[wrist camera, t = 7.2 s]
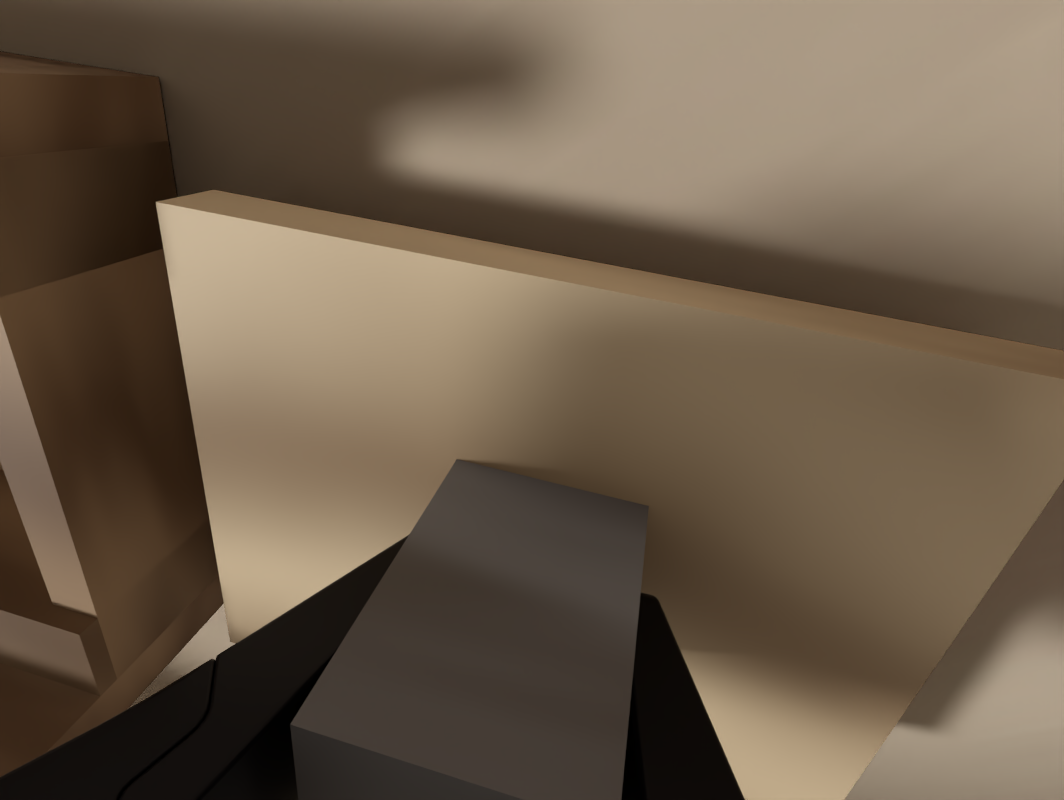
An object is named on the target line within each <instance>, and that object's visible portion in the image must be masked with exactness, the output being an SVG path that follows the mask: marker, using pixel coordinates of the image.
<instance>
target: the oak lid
mask: <svg viewBox="0 0 1064 800" xmlns="http://www.w3.org/2000/svg"><path fill="white" fill-rule="evenodd" d="M156 208H157V214H158V219H159V225H160V231H161V237H162V243H163V249H164V255H165V261H166V266H167V272H168V278H169V284H170V290H171V296H172V302H173V308H174V314H175V319H176V325H177V331H178V337H179V343H180V349H181V355H182V361H183V366H184V372H185V378H186V384H187V390H188V396H189V402H190V408H191V413H192V419H193V425H194V431H195V437H196V443H197V449H198V455H199V461H200V466H201V472H202V478H203V484H204V490H205V496H206V502H207V508H208V513H209V519H210V525H211V531H212V537H213V543H214V549H215V555H216V561H217V566H218V572H219V578H220V584H221V590H222V596H223V602H224V608H225V613H226V619H227V625H228V631H229V637H230V642H233V643H238V642H239V641H241V640H242V639H244V638H246V637H247V636H249V635H250V634H252V633H254V632H255V631H257V630H258V629H260V628H261V627H263V626H265V625H266V624H268V623H269V622H271V621H273V620H274V619H276V618H277V617H279V616H281V615H282V614H284V613H285V612H287V611H288V610H290V609H292V608H293V607H295V606H296V605H298V604H300V603H301V602H303V601H304V600H306V599H307V598H309V597H311V596H312V595H314V594H315V593H317V592H319V591H320V590H322V589H323V588H325V587H326V586H328V585H330V584H331V583H333V582H334V581H336V580H338V579H339V578H341V577H342V576H344V575H346V574H347V573H349V572H350V571H352V570H353V569H355V568H357V567H358V566H360V565H361V564H363V563H365V562H366V561H368V560H369V559H371V558H372V557H374V556H376V555H377V554H379V553H380V552H382V551H384V550H385V549H387V548H388V547H390V546H392V545H393V544H395V543H396V542H398V541H399V540H401V539H403V538H404V537H406V536H407V535H409V536H408V538H407V539H406V541H405V542H404V544H403V546H402V547H401V549H400V550H399V552H398V553H397V555H396V557H395V558H394V560H393V561H392V563H391V565H390V566H389V568H388V569H387V571H386V573H385V574H384V576H383V577H382V579H381V581H380V582H379V584H378V585H377V587H376V588H375V590H374V592H373V593H372V595H371V596H370V598H369V600H368V601H367V603H366V604H365V606H364V608H363V609H362V611H361V612H360V614H359V616H358V617H357V619H356V620H355V622H354V624H353V625H352V627H351V628H350V630H349V631H348V633H347V635H346V636H345V638H344V639H343V641H342V643H341V644H340V646H339V647H338V649H337V651H336V652H335V654H334V655H333V657H332V659H331V660H330V662H329V663H328V665H327V667H326V668H325V670H324V671H323V673H322V674H321V676H320V678H319V679H318V681H317V682H316V684H315V686H314V687H313V689H312V690H311V692H310V694H309V695H308V697H307V698H306V700H305V702H304V703H303V705H302V706H301V708H300V710H299V711H298V713H297V714H296V716H295V717H294V719H293V721H292V722H291V724H290V728H291V737H292V746H293V755H294V765H295V774H296V783H297V792H298V800H621V797H622V786H623V775H624V765H625V754H626V744H627V733H628V722H629V712H630V701H631V690H632V680H633V669H634V659H635V648H636V637H637V627H638V616H639V605H640V595H641V592H642V593H646V594H650V595H653V596H655V597H656V598H657V599H658V600H659V602H660V604H661V607H662V609H663V611H664V614H665V616H666V618H667V621H668V623H669V625H670V627H671V630H672V632H673V634H674V637H675V639H676V641H677V644H678V646H679V648H680V651H681V653H682V655H683V658H684V660H685V662H686V664H687V667H688V669H689V671H690V674H691V676H692V678H693V681H694V683H695V685H696V688H697V690H698V692H699V695H700V697H701V699H702V702H703V704H704V706H705V708H706V711H707V713H708V715H709V718H710V720H711V722H712V725H713V727H714V729H715V732H716V734H717V736H718V739H719V741H720V743H721V745H722V748H723V750H724V752H725V755H726V757H727V759H728V762H729V764H730V766H731V769H732V771H733V773H734V776H735V778H736V780H737V782H738V785H739V787H740V789H741V792H742V794H743V796H744V799H747V800H844V799H845V798H846V796H847V795H848V794H849V792H850V791H851V789H852V788H853V786H854V785H855V783H856V782H857V780H858V779H859V778H860V776H861V775H862V773H863V772H864V770H865V769H866V767H867V766H868V764H869V763H870V761H871V760H872V759H873V757H874V756H875V754H876V753H877V751H878V750H879V748H880V747H881V745H882V744H883V743H884V741H885V740H886V738H887V737H888V735H889V734H890V732H891V731H892V729H893V728H894V727H895V725H896V724H897V722H898V721H899V719H900V718H901V716H902V715H903V713H904V712H905V710H906V709H907V708H908V706H909V705H910V703H911V702H912V700H913V699H914V697H915V696H916V694H917V693H918V692H919V690H920V689H921V687H922V686H923V684H924V683H925V681H926V680H927V678H928V677H929V676H930V674H931V673H932V671H933V670H934V668H935V667H936V665H937V664H938V662H939V661H940V659H941V658H942V657H943V655H944V654H945V652H946V651H947V649H948V648H949V646H950V645H951V643H952V642H953V641H954V639H955V638H956V636H957V635H958V633H959V632H960V630H961V629H962V627H963V626H964V625H965V623H966V622H967V620H968V619H969V617H970V616H971V614H972V613H973V611H974V610H975V608H976V607H977V606H978V604H979V603H980V601H981V600H982V598H983V597H984V595H985V594H986V592H987V591H988V590H989V588H990V587H991V585H992V584H993V582H994V581H995V579H996V578H997V576H998V575H999V574H1000V572H1001V571H1002V569H1003V568H1004V566H1005V565H1006V563H1007V562H1008V560H1009V559H1010V558H1011V556H1012V555H1013V553H1014V552H1015V550H1016V549H1017V547H1018V546H1019V544H1020V543H1021V541H1022V540H1023V539H1024V537H1025V536H1026V534H1027V533H1028V531H1029V530H1030V528H1031V527H1032V525H1033V524H1034V523H1035V521H1036V520H1037V518H1038V517H1039V515H1040V514H1041V512H1042V511H1043V509H1044V508H1045V507H1046V505H1047V504H1048V502H1049V501H1050V499H1051V498H1052V496H1053V495H1054V493H1055V492H1056V490H1057V489H1058V488H1059V486H1060V485H1061V483H1062V482H1063V480H1064V351H1063V350H1057V349H1052V348H1047V347H1041V346H1036V345H1031V344H1026V343H1020V342H1015V341H1010V340H1004V339H999V338H994V337H989V336H983V335H978V334H973V333H967V332H962V331H957V330H952V329H946V328H941V327H936V326H931V325H925V324H920V323H915V322H909V321H904V320H899V319H894V318H888V317H883V316H878V315H872V314H867V313H862V312H857V311H851V310H846V309H841V308H835V307H830V306H825V305H820V304H814V303H809V302H804V301H799V300H793V299H788V298H783V297H777V296H772V295H767V294H762V293H756V292H751V291H746V290H740V289H735V288H730V287H725V286H719V285H714V284H709V283H703V282H698V281H693V280H688V279H682V278H677V277H672V276H667V275H661V274H656V273H651V272H645V271H640V270H635V269H630V268H624V267H619V266H614V265H608V264H603V263H598V262H593V261H587V260H582V259H577V258H571V257H566V256H561V255H556V254H550V253H545V252H540V251H535V250H529V249H524V248H519V247H513V246H508V245H503V244H498V243H492V242H487V241H482V240H476V239H471V238H466V237H461V236H455V235H450V234H445V233H439V232H434V231H429V230H424V229H418V228H413V227H408V226H403V225H397V224H392V223H387V222H381V221H376V220H371V219H366V218H360V217H355V216H350V215H344V214H339V213H334V212H329V211H323V210H318V209H313V208H307V207H302V206H297V205H292V204H286V203H281V202H276V201H271V200H265V199H260V198H255V197H249V196H244V195H239V194H234V193H228V192H223V191H218V190H210V191H205V192H200V193H196V194H191V195H186V196H181V197H176V198H172V199H167V200H162V201H157V202H156Z"/></svg>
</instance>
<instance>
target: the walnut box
mask: <svg viewBox="0 0 1064 800" xmlns="http://www.w3.org/2000/svg"><path fill="white" fill-rule="evenodd" d="M176 197H177V193H176V187H175V180H174V174H173V167H172V161H171V155H170V148H169V142H168V135H167V129H166V122H165V116H164V109H163V103H162V96H161V90H160V83H159V77H155V76H149V75H143V74H137V73H130V72H124V71H118V70H112V69H106V68H100V67H93V66H87V65H81V64H75V63H69V62H62V61H56V60H50V59H44V58H38V57H32V56H25V55H19V54H13V53H7V52H1V51H0V777H1V776H3V775H5V774H7V773H9V772H10V771H12V770H14V769H16V768H18V767H20V766H22V765H24V764H26V763H28V762H29V761H31V760H33V759H35V758H37V757H39V756H41V755H43V754H45V753H47V752H48V751H50V750H52V749H54V748H56V747H58V746H60V745H62V744H64V743H66V742H67V741H69V740H71V739H73V738H75V737H77V736H79V735H81V734H83V733H85V732H86V731H88V730H90V729H92V728H94V727H96V726H98V725H100V724H101V723H103V722H105V721H107V720H109V719H111V718H112V717H114V716H116V715H118V714H120V713H121V712H123V711H125V710H127V709H128V708H129V707H130V706H131V705H132V703H133V702H134V701H135V700H136V699H137V698H138V697H139V696H140V695H141V694H142V692H143V691H144V690H145V689H146V688H147V687H148V686H149V685H150V684H151V683H152V681H153V680H154V679H155V678H156V677H157V676H158V675H159V674H160V673H161V672H162V670H163V669H164V668H165V667H166V666H167V665H168V664H169V663H170V662H171V661H172V659H173V658H174V657H175V656H176V655H177V654H178V653H179V652H180V651H181V650H182V648H183V647H184V646H185V645H186V644H187V643H188V642H189V641H190V640H191V639H192V637H193V636H194V635H195V634H196V633H197V632H198V631H199V630H200V629H201V628H202V626H203V625H204V624H205V623H206V622H207V621H208V620H209V619H210V618H211V617H212V615H213V614H214V613H215V612H216V611H217V610H218V609H219V608H220V607H221V606H222V604H223V603H224V602H223V596H222V590H221V584H220V578H219V572H218V566H217V561H216V555H215V549H214V543H213V537H212V531H211V525H210V519H209V513H208V508H207V502H206V496H205V490H204V484H203V478H202V472H201V466H200V461H199V455H198V449H197V443H196V437H195V431H194V425H193V419H192V413H191V408H190V402H189V396H188V390H187V384H186V378H185V372H184V366H183V361H182V355H181V349H180V343H179V337H178V331H177V325H176V319H175V314H174V308H173V302H172V296H171V290H170V284H169V278H168V272H167V266H166V261H165V255H164V249H163V243H162V237H161V231H160V225H159V219H158V214H157V208H156V202H157V201H162V200H167V199H172V198H176Z"/></svg>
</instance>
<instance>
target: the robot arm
mask: <svg viewBox="0 0 1064 800" xmlns="http://www.w3.org/2000/svg"><path fill="white" fill-rule="evenodd" d="M408 536H409V535H407V536H406V537H404V538H403V539H401V540H399V541H398V542H396V543H395V544H393V545H392V546H390V547H388V548H387V549H385V550H384V551H382V552H380V553H379V554H377V555H376V556H374V557H372V558H371V559H369V560H368V561H366V562H365V563H363V564H361V565H360V566H358V567H357V568H355V569H353V570H352V571H350V572H349V573H347V574H346V575H344V576H342V577H341V578H339V579H338V580H336V581H334V582H333V583H331V584H330V585H328V586H326V587H325V588H323V589H322V590H320V591H319V592H317V593H315V594H314V595H312V596H311V597H309V598H307V599H306V600H304V601H303V602H301V603H300V604H298V605H296V606H295V607H293V608H292V609H290V610H288V611H287V612H285V613H284V614H282V615H281V616H279V617H277V618H276V619H274V620H273V621H271V622H269V623H268V624H266V625H265V626H263V627H261V628H260V629H258V630H257V631H255V632H254V633H252V634H250V635H249V636H247V637H246V638H244V639H242V640H241V641H239V642H238V643H236V644H235V645H233V646H231V647H230V648H228V649H227V650H225V651H223V652H222V653H220V654H219V655H217V657H216V661H215V660H214V659H211V660H209V661H207V662H206V663H204V664H202V665H201V666H199V667H198V668H196V669H194V670H193V671H191V672H190V673H188V674H187V675H185V676H183V677H182V678H180V679H178V680H177V681H175V682H173V683H172V684H170V685H168V686H167V687H165V688H163V689H162V690H160V691H158V692H157V693H155V694H153V695H152V696H150V697H148V698H147V699H145V700H143V701H141V702H140V703H138V704H136V705H134V706H132V707H131V708H129V709H127V710H125V711H123V712H121V713H120V714H118V715H116V716H114V717H112V718H111V719H109V720H107V721H105V722H103V723H101V724H100V725H98V726H96V727H94V728H92V729H90V730H88V731H86V732H85V733H83V734H81V735H79V736H77V737H75V738H73V739H71V740H69V741H67V742H66V743H64V744H62V745H60V746H58V747H56V748H54V749H52V750H50V751H48V752H47V753H45V754H43V755H41V756H39V757H37V758H35V759H33V760H31V761H29V762H28V763H26V764H24V765H22V766H20V767H18V768H16V769H14V770H12V771H10V772H9V773H7V774H5V775H3V776H1V777H0V800H298V792H297V783H296V774H295V765H294V755H293V746H292V737H291V728H290V724H291V722H292V721H293V719H294V717H295V716H296V714H297V713H298V711H299V710H300V708H301V706H302V705H303V703H304V702H305V700H306V698H307V697H308V695H309V694H310V692H311V690H312V689H313V687H314V686H315V684H316V682H317V681H318V679H319V678H320V676H321V674H322V673H323V671H324V670H325V668H326V667H327V665H328V663H329V662H330V660H331V659H332V657H333V655H334V654H335V652H336V651H337V649H338V647H339V646H340V644H341V643H342V641H343V639H344V638H345V636H346V635H347V633H348V631H349V630H350V628H351V627H352V625H353V624H354V622H355V620H356V619H357V617H358V616H359V614H360V612H361V611H362V609H363V608H364V606H365V604H366V603H367V601H368V600H369V598H370V596H371V595H372V593H373V592H374V590H375V588H376V587H377V585H378V584H379V582H380V581H381V579H382V577H383V576H384V574H385V573H386V571H387V569H388V568H389V566H390V565H391V563H392V561H393V560H394V558H395V557H396V555H397V553H398V552H399V550H400V549H401V547H402V546H403V544H404V542H405V541H406V539H407V538H408ZM621 800H745V799H744V796H743V794H742V792H741V789H740V787H739V785H738V782H737V780H736V778H735V776H734V773H733V771H732V769H731V766H730V764H729V762H728V759H727V757H726V755H725V752H724V750H723V748H722V745H721V743H720V741H719V739H718V736H717V734H716V732H715V729H714V727H713V725H712V722H711V720H710V718H709V715H708V713H707V711H706V708H705V706H704V704H703V702H702V699H701V697H700V695H699V692H698V690H697V688H696V685H695V683H694V681H693V678H692V676H691V674H690V671H689V669H688V667H687V664H686V662H685V660H684V658H683V655H682V653H681V651H680V648H679V646H678V644H677V641H676V639H675V637H674V634H673V632H672V630H671V627H670V625H669V623H668V621H667V618H666V616H665V614H664V611H663V609H662V607H661V604H660V602H659V600H658V599H657V598H656V597H655V596H653V595H650V594H646V593H642V592H641V595H640V605H639V616H638V627H637V637H636V648H635V659H634V669H633V680H632V690H631V701H630V712H629V722H628V733H627V744H626V754H625V765H624V775H623V786H622V797H621Z"/></svg>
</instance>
